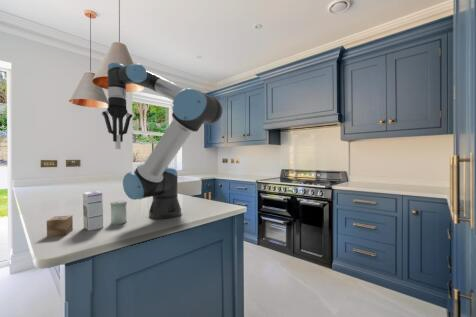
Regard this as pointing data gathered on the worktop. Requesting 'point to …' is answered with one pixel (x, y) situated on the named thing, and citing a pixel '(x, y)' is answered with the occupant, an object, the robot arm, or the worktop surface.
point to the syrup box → (93, 210)
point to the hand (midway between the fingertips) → (118, 148)
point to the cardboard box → (59, 226)
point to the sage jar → (118, 212)
